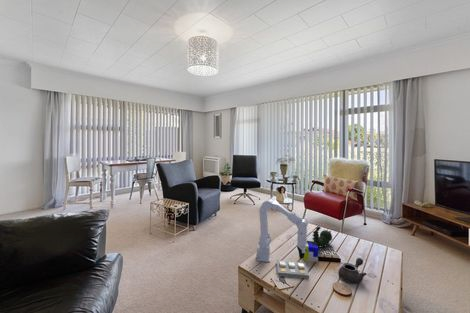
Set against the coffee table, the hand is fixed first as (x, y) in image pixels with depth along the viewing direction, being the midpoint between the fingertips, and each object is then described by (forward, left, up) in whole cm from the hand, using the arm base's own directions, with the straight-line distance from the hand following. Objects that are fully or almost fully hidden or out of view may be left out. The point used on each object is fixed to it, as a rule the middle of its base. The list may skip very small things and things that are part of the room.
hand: (301, 258), depth 137 cm
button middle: (-6, 0, -6) cm, 9 cm away
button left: (-12, 0, -6) cm, 14 cm away
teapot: (+32, -2, -8) cm, 33 cm away
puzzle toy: (+9, +18, -8) cm, 21 cm away
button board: (-6, -1, -8) cm, 10 cm away
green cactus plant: (+23, +38, -8) cm, 45 cm away
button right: (0, 0, -6) cm, 6 cm away
